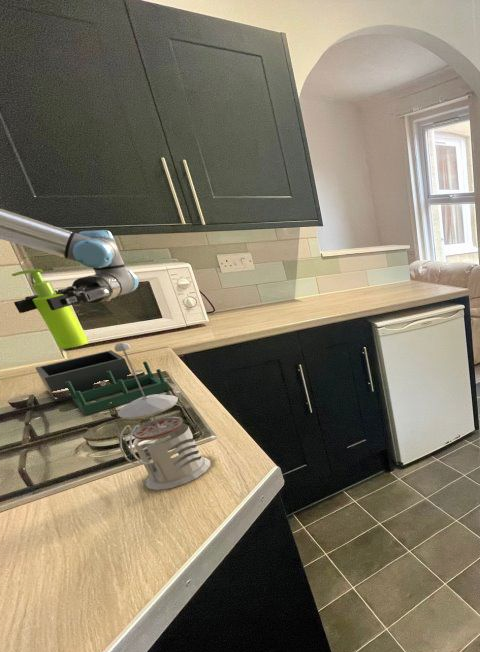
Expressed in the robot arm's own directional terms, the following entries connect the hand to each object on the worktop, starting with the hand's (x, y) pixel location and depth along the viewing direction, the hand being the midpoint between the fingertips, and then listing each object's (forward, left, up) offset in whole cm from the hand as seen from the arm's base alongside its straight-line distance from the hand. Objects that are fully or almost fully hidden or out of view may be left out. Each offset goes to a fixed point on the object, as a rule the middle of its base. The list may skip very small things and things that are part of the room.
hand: (34, 306), depth 103 cm
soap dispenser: (+3, +4, -12) cm, 13 cm away
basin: (+3, +5, -24) cm, 25 cm away
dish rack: (+6, -13, -24) cm, 28 cm away
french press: (+1, -68, -24) cm, 73 cm away
